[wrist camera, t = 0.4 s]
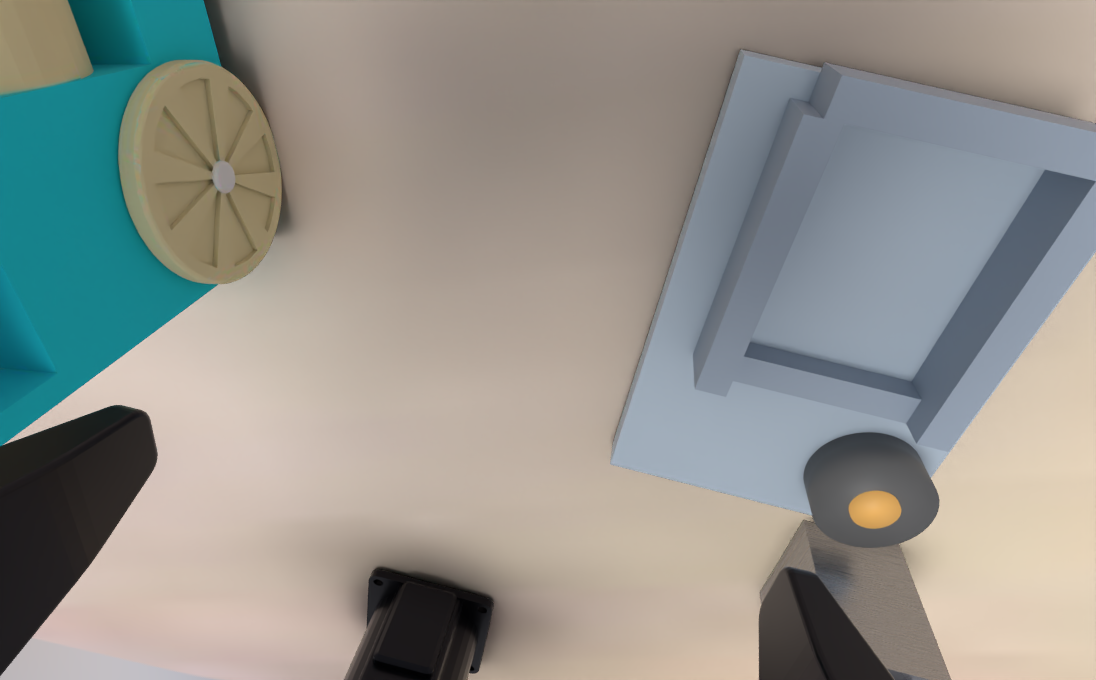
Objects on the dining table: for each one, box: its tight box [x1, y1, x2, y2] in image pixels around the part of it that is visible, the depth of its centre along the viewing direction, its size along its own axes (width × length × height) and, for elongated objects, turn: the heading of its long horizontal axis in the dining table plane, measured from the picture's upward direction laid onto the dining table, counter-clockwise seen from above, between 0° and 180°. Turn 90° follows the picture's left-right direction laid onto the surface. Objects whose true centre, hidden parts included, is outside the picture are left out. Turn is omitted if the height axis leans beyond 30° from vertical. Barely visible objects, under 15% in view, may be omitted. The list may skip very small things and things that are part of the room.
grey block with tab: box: [760, 520, 951, 680], centre depth 25 cm, size 5×4×7 cm
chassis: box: [610, 49, 1096, 548], centre depth 20 cm, size 15×11×3 cm
